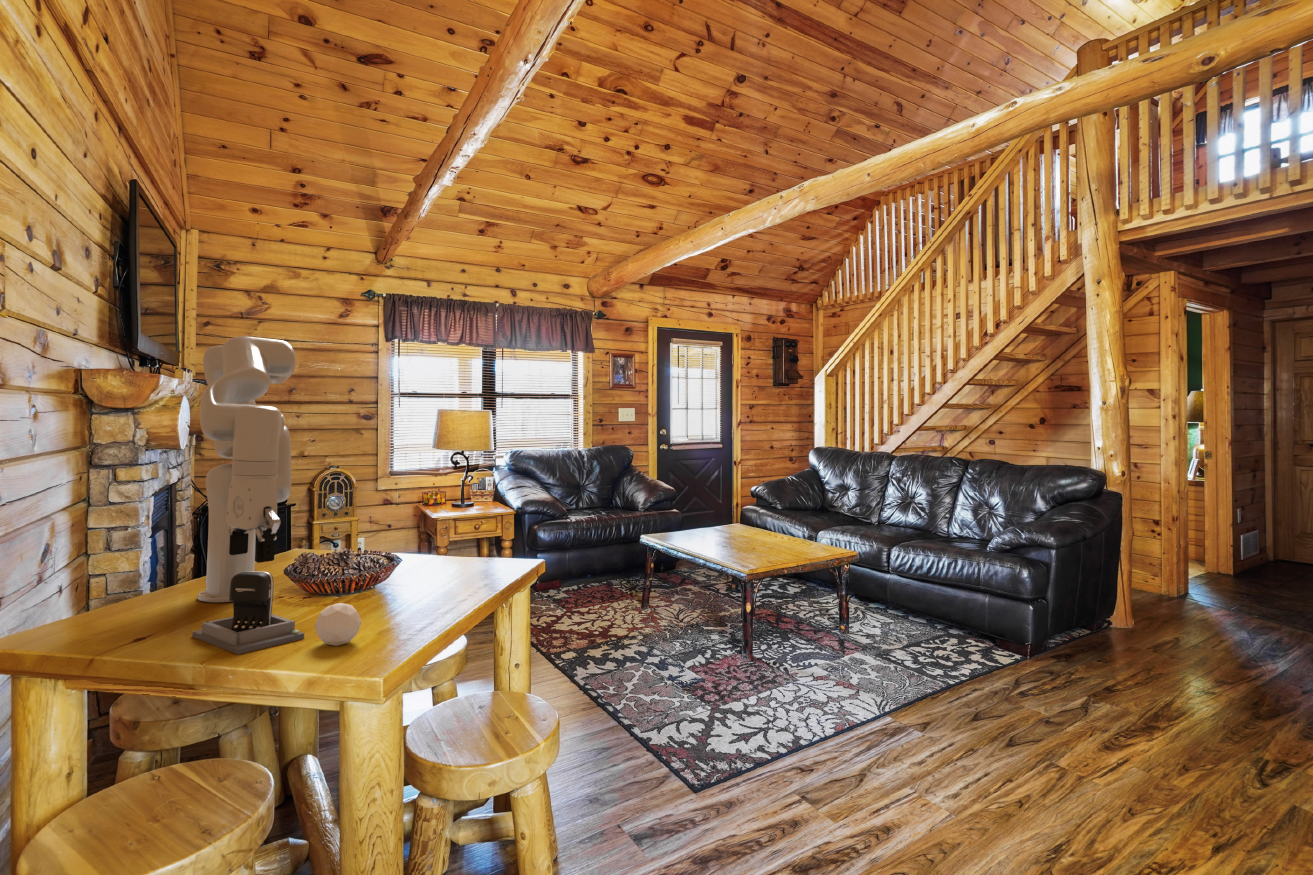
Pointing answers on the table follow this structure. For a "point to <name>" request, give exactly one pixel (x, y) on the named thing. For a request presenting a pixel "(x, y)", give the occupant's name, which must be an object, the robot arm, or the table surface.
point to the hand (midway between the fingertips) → (251, 557)
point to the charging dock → (248, 635)
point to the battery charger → (251, 600)
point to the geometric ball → (338, 624)
